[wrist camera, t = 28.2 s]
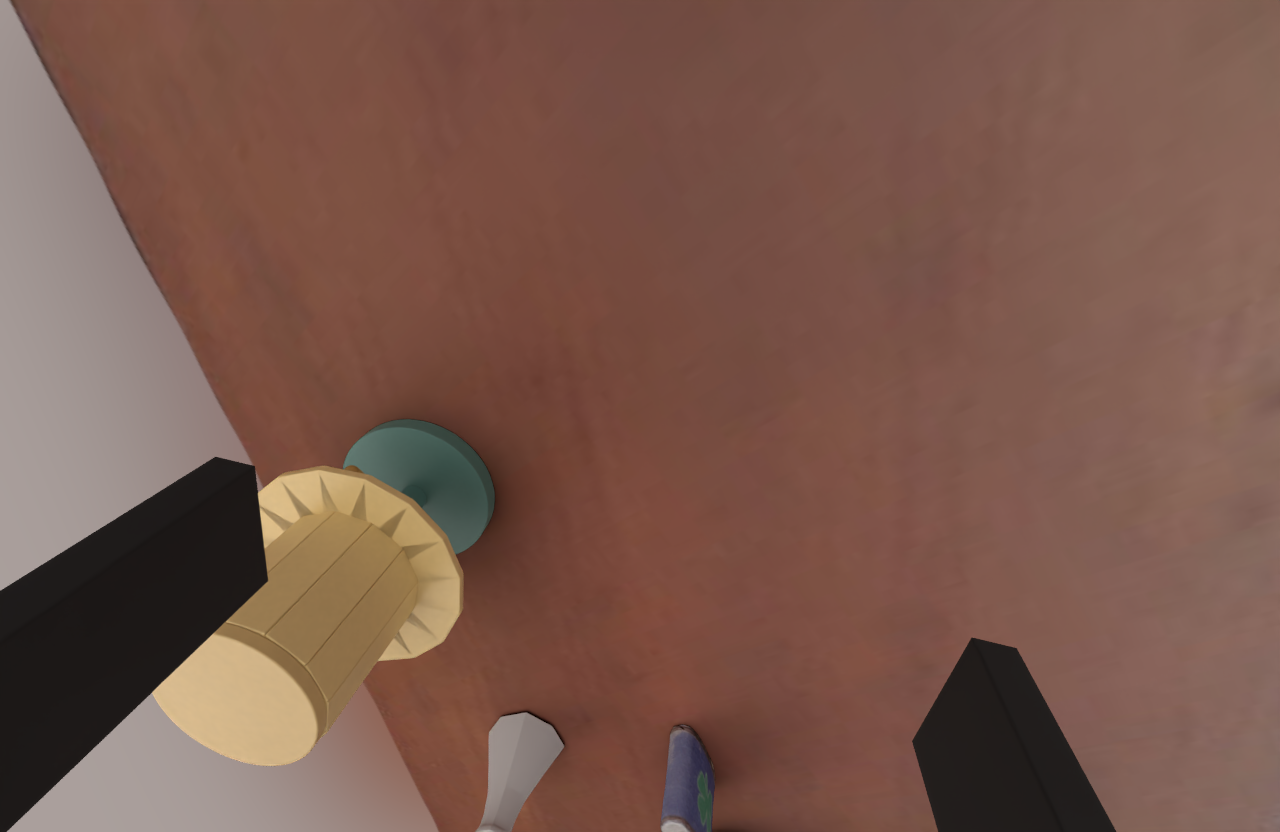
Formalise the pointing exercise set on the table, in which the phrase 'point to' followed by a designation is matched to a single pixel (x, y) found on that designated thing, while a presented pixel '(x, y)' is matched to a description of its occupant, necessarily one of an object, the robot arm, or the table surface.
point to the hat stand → (430, 475)
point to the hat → (317, 616)
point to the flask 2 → (688, 784)
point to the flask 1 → (516, 766)
